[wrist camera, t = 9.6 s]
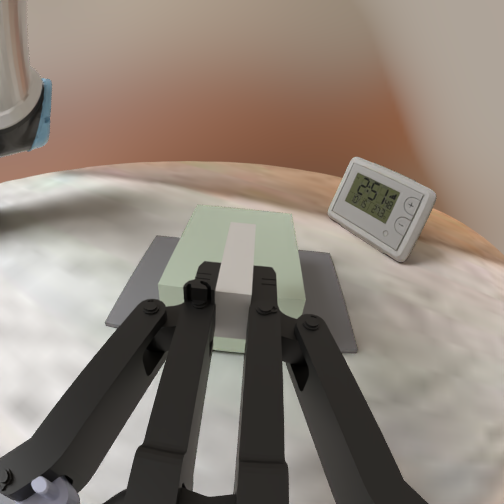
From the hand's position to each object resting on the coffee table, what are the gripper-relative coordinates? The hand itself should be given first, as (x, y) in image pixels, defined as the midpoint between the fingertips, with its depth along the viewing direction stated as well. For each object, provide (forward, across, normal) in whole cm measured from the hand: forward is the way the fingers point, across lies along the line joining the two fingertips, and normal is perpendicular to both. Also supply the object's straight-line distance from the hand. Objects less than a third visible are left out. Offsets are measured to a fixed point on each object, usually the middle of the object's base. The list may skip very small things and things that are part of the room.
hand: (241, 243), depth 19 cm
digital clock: (+24, +19, -10) cm, 32 cm away
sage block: (0, 0, -7) cm, 7 cm away
